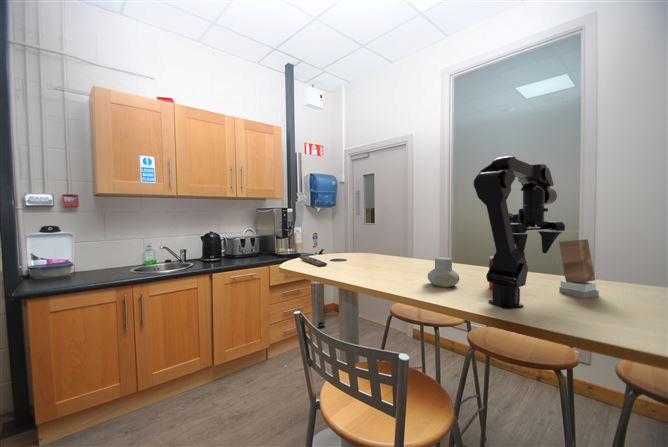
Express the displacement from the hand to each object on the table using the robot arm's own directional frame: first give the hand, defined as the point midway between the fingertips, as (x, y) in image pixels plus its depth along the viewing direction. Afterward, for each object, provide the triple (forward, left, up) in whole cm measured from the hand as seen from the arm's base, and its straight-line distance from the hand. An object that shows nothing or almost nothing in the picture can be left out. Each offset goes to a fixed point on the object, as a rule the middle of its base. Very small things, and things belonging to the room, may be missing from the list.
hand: (532, 254), depth 93 cm
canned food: (-4, +8, -13) cm, 16 cm away
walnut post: (+15, -4, -9) cm, 18 cm away
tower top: (+14, -3, -12) cm, 19 cm away
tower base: (+15, -4, -14) cm, 20 cm away
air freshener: (-20, +18, -13) cm, 30 cm away
